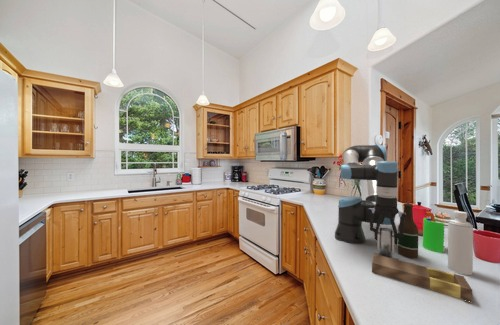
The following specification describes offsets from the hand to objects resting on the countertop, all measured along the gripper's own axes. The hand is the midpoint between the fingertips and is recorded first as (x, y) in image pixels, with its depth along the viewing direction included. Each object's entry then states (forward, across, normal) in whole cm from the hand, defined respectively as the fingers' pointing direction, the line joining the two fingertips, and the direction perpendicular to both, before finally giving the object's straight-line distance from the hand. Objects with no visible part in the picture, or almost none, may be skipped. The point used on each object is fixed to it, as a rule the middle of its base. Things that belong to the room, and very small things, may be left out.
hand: (385, 249), depth 84 cm
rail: (+5, +9, -11) cm, 15 cm away
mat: (+5, 0, 0) cm, 5 cm away
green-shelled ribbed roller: (+5, +19, +30) cm, 36 cm away
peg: (+3, 0, 0) cm, 3 cm away
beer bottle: (+5, +8, +12) cm, 15 cm away
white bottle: (+5, +24, +8) cm, 26 cm away
